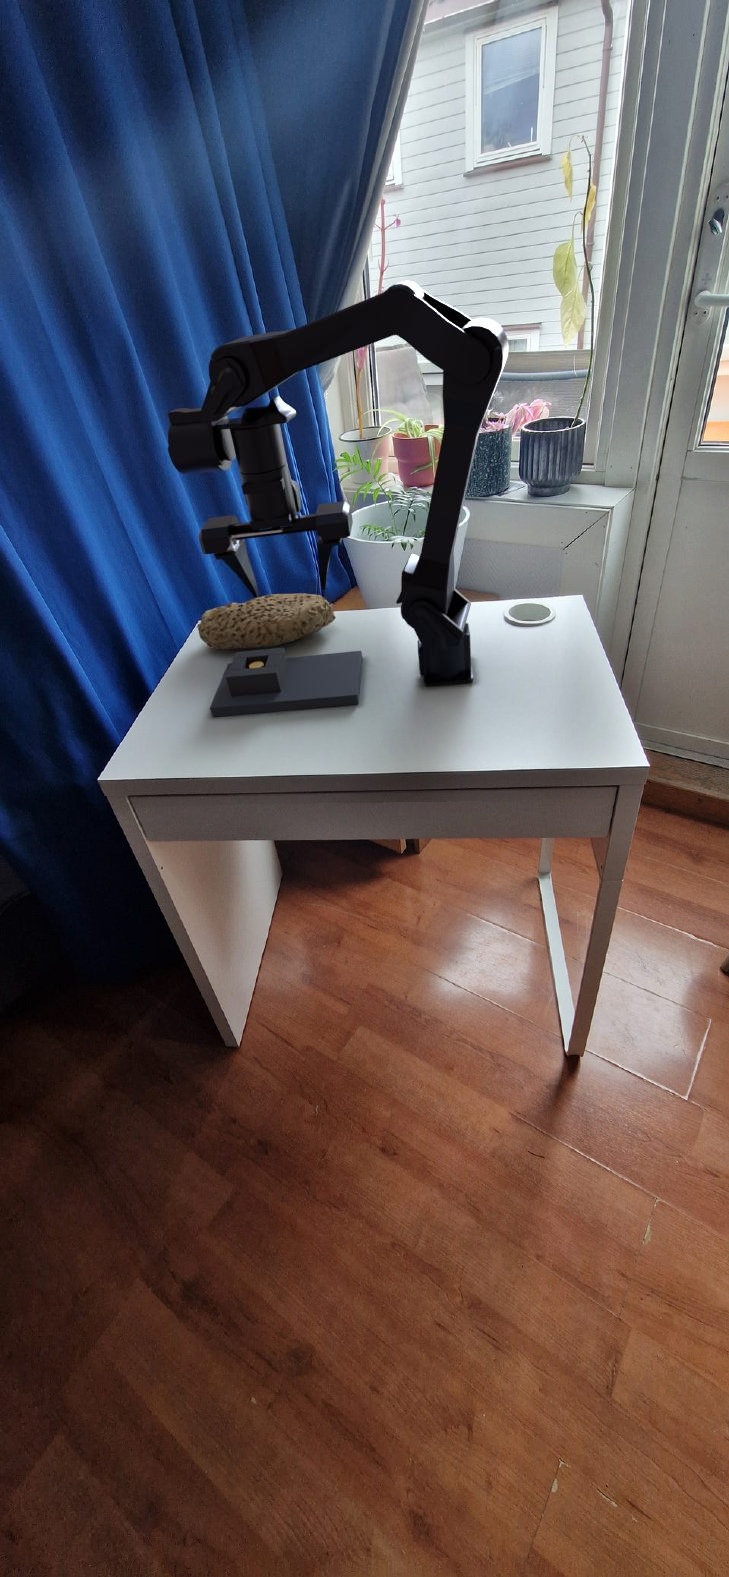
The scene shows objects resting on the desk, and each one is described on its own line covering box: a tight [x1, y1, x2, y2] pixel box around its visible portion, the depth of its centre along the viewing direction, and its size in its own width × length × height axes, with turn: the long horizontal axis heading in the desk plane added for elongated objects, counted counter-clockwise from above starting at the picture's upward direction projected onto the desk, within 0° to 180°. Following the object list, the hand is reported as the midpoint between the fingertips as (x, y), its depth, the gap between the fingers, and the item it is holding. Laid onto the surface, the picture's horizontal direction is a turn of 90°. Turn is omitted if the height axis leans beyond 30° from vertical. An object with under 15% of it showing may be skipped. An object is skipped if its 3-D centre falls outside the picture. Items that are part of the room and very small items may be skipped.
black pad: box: [226, 647, 288, 696], centre depth 90 cm, size 7×7×3 cm
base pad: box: [209, 650, 364, 718], centre depth 90 cm, size 20×12×4 cm, turn 87°
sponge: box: [196, 592, 336, 650], centre depth 102 cm, size 13×8×20 cm
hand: (290, 593), depth 87 cm, fingers open, 9 cm apart
